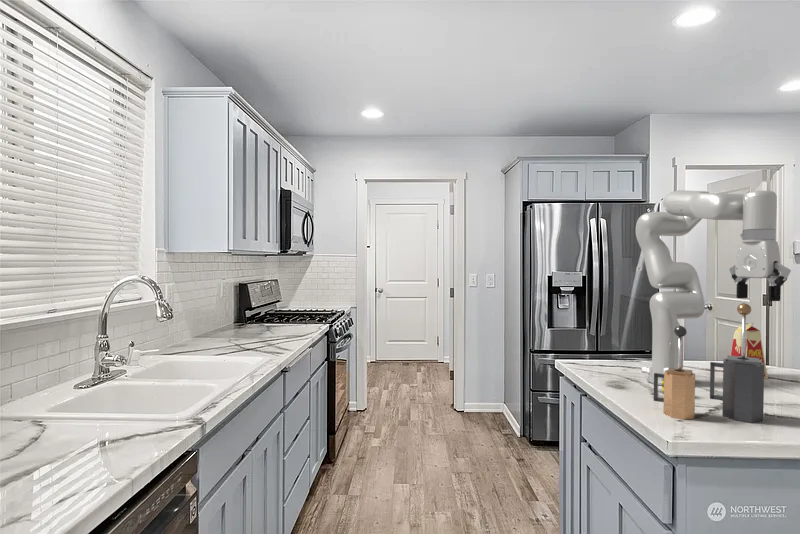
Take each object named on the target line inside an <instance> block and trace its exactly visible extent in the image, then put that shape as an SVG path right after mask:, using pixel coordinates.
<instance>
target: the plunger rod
mask: <svg viewBox="0 0 800 534" xmlns="http://www.w3.org/2000/svg"><path fill="white" fill-rule="evenodd" d="M736 311H737V313H738V314H739V315H741V325H742V345H741V359H744V360H745V348H746V324H747V316H748V315H750V314H751V312H752V307H751V305H749V304H748V303H745V302H743V303H740V304H738V305H737V308H736Z"/></svg>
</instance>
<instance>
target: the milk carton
mask: <svg viewBox="0 0 800 534" xmlns="http://www.w3.org/2000/svg"><path fill="white" fill-rule="evenodd" d="M753 325H754V322H750V323H746V348H745V357H751V358H759V360H760V362H763V363H764V380H769V378H768V372H767V367H766V360H765V354H764V347H763V341H762V335H761V330H760V329H758V328H756V327H754V326H753ZM737 326H738V328H737V329H736V330H735V331H734V333H733V338H732V343H731V349H730V356H740V357H741V345H742V324H737Z"/></svg>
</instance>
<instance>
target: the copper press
mask: <svg viewBox="0 0 800 534" xmlns="http://www.w3.org/2000/svg"><path fill="white" fill-rule="evenodd" d="M658 377H661V378H664V396H663V397H659V396H658V395H659V385H658ZM695 400H696V373H694V372H693V370H692V369H684V368H683V369H681V372H680V371H678V369H676V368H669V369H668V370H665V372H664V374H660V373H654V384H653V402H659V403H660V402H662V403H663V415H664V414H665V416H667V415H668V416H667V417H669V416H670V417H669V418H672V417H673V419H678V418H679V419H680V420H694V419H695V410H696V401H695Z"/></svg>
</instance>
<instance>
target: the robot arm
mask: <svg viewBox="0 0 800 534" xmlns="http://www.w3.org/2000/svg"><path fill="white" fill-rule="evenodd" d="M777 206H778V196H777V193H776V192H775V191H772V190H753V191H749V192H746V193H720V192H719V193H714V192H711V193H710V192H708V191H706V190H686V189H685V190H684V189H683V190H682V189H681V190H675V191H674V190H673V191H671V192H669V193H667V194H666V195H665V197H663V200H662V208H663V209H664V211H651V212H645V213H643V214H642V215H640V216H639V218H638V219H637V221H636V223H635V224H636V225H635V237H636V241H637V243H638V245H639V248H640V249H641V250H640V251H641V252H642V255H643V261H644V266H645V270H646V272H647V273H646V274H647V277H648V282H649V284H650V285H651V287H653V288H655V289H661V290H663V289H664V291H659V292H656V293H654V294H653V295H652V296H651V297H650V299H649V311H650V316H651V323H652V325H651V326H652V335H651V336H652V339H651V340H652V345H651V348H652V349H651V367H648V366H647V367H646V366H642V367H641V374H647V375H648V376H647V377H646V381H647V382H649V383H650V384H653V385H654V373H660V374H664V368H676V369H678V340H679V337H678V336H676V335H675V333H674V329H675V328H676V327H677V326H681V325H680V323H679V321H678V320H690V319H691V320H694V319H698V318H700V317H702V316H703V314H704V312H705V310H706V304H705V298H704V294H703V291H702V286H701V282H700V277H699V275H698V272H697V270H696V268H695V267H694V266H693V265H692V264H690V263H687V262H682V261H678V262H677V261H674V260H673V259H672V257H671V252H670V249H669V247H668V246H667V244H666V243H665V242H664V241H663V240H662V239H661V238H660V237H682V236H686V235H687V234H689V233H690V232H691V231H692V230H693V229H694V228H695V227H696V226H697V225H698V224H699V223H700V222H701V221H702V219H704V220H713V221H714V220H715V221H742V233H741V234H740V238H741V239H742V240H741V241H739V244H738V248H737V251H736V257H735V264H734V265H733V266H731V267H730V268H729V272H730V275H731V279H732V280H733V281H734V284H735V285H736V295H735V296H736V297H735V298H737V299H747V298H748V296H749V295H748V293H749V286H748V283H747V282H748V281H749V280H750V279H766V280H767V282H768V283H769V284H770V285H769V286H768V293H767V294H768V297H767V298H768V299H767V300H768V301H769V302H780V301H781V291H782V289H781V288H782V286H783V285H784V283H785V282H786V281H787V280H788V277H789V276H790V274H791V271H792V270H791V269H790V268H788V267H787V266H785V265H783V264H781V263H782V262H781V253H780V248H779V247H780V246H779V243H778V241H777V211H778V210H777V208H778V207H777ZM669 290H670V291H669ZM671 290H672V291H671ZM673 290H674V291H673ZM681 369H684V336H683V337H682V363H681ZM658 386H662V378H661V377H658Z"/></svg>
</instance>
